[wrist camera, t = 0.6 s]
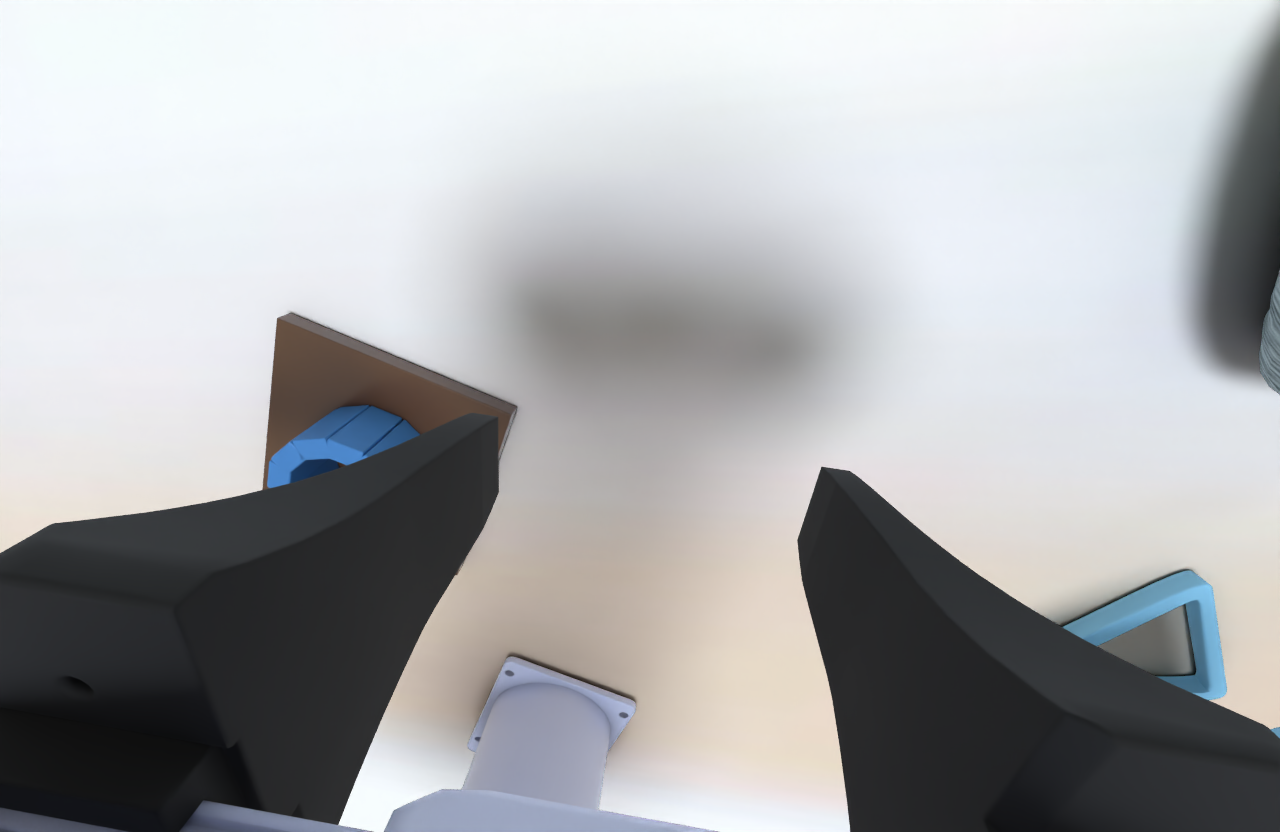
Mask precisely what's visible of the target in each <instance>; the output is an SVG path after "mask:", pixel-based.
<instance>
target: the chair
mask: <svg viewBox="0 0 1280 832" xmlns="http://www.w3.org/2000/svg"><path fill="white" fill-rule="evenodd" d="M1184 604H1185V605H1186V611H1187V617H1188V623H1189V628H1190V634H1191V640H1192V646H1193V652H1194V658H1195V664H1196V670H1197V671H1196V674H1195V675H1191V676H1156V677H1158V678H1160V679H1162V680H1164V681H1166V682H1169V683H1171V684H1173V685H1175V686H1177V687H1180V688H1182V689H1184V690H1186V691H1189V692H1191V693H1193V694H1195V695H1198V696H1200V697H1202V698H1204V699H1207V700H1212V699H1217V698H1221V697H1223V696H1224V695H1225V694H1226V692H1227V686H1226V679H1225V672H1224V665H1223V658H1222V651H1221V644H1220V637H1219V630H1218V623H1217V616H1216V608H1215V601H1214V594H1213V588H1212V586H1211V585H1210V584H1208V583H1207V582H1206V581H1204V580H1203V579H1202V578H1201V577H1199V576H1198V575H1197V574H1195V573H1194V572H1192V571H1190V570H1189V571H1183V572H1180V573H1177V574H1174V575H1172V576H1169V577H1167V578H1164V579H1162V580H1160V581H1157V582H1155V583H1153V584H1151V585H1149V586H1147V587H1145V588H1142V589H1140V590H1138V591H1136V592H1134V593H1132V594H1130V595H1128V596H1126V597H1123V598H1121V599H1119V600H1117V601H1115V602H1113V603H1111V604H1109V605H1107V606H1105V607H1103V608H1101V609H1099V610H1097V611H1095V612H1092V613H1090V614H1088V615H1086V616H1084V617H1082V618H1080V619H1078V620H1076V621H1074V622H1072V623H1070V624H1067V625H1065V626H1063V628H1064V629H1066V630H1068V631H1070V632H1071V633H1073V634H1075V635H1077V636H1078V637H1080V638H1082V639H1084V640H1086V641H1088V642H1090V643H1091V644H1093V645H1095V646H1099V645H1101V644H1103V643H1105V642H1107V641H1109V640H1111V639H1113V638H1115V637H1117V636H1119V635H1121V634H1123V633H1125V632H1127V631H1129V630H1131V629H1133V628H1136V627H1138V626H1140V625H1142V624H1144V623H1146V622H1148V621H1150V620H1152V619H1154V618H1156V617H1158V616H1160V615H1162V614H1165V613H1167V612H1169V611H1171V610H1173V609H1175V608H1177V607H1179V606H1181V605H1184ZM1270 730H1271V731H1272V732H1274V733H1275V734H1276V735H1277V736H1278V737H1279V738H1280V727H1278V728H1274V729H1270Z"/></svg>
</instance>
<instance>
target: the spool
mask: <svg viewBox="0 0 1280 832" xmlns="http://www.w3.org/2000/svg"><path fill="white" fill-rule="evenodd" d="M1259 361H1260V372H1261V374H1262V376H1263V377H1264V379H1265V381H1266V382H1267V384H1268V386H1269V387H1270V388H1272V389H1273V390H1274V391H1276V392H1277V393H1278V394H1280V270H1279V274H1278V277H1277V280H1276V284H1275V287H1274V290H1273V292H1272V295H1271V301H1270V309H1269V310H1268V312H1267V314H1266V316H1265V318H1264V321H1263V326H1262V342H1261V347H1260V351H1259Z"/></svg>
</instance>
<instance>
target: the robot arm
mask: <svg viewBox="0 0 1280 832" xmlns="http://www.w3.org/2000/svg"><path fill="white" fill-rule="evenodd" d="M498 493H499V460H498V417H497V416H491V415H484V414H478V413H469V414H466V415H463V416H461V417H458V418H456V419H454V420H452V421H449V422H447V423H445V424H443V425H441V426H438V427H436V428H434V429H432V430H430V431H428V432H425V433H423V434H421V435H419V436H417V437H414V438H412V439H410V440H408V441H406V442H403V443H401V444H399V445H397V446H394V447H392V448H389V449H387V450H384V451H382V452H379V453H377V454H374V455H372V456H370V457H367V458H365V459H362V460H360V461H357V462H355V463H352V464H349V465H347V466H344V467H341V468H338V469H335V470H332V471H329V472H326V473H323V474H320V475H316V476H313V477H310V478H307V479H304V480H300V481H297V482H293V483H289V484H285V485H281V486H277V487H273V488H269V489H265V490H261V491H257V492H253V493H249V494H245V495H241V496H236V497H232V498H227V499H222V500H217V501H212V502H207V503H201V504H196V505H190V506H184V507H178V508H172V509H167V510H160V511H153V512H147V513H139V514H131V515H123V516H114V517H106V518H98V519H90V520H81V521H73V522H62V523H54V524H51V525H49V526H47V527H45V528H43V529H42V530H40V531H38V532H37V533H35V534H33V535H32V536H30V537H28V538H26V539H25V540H23V541H21V542H19V543H18V544H16V545H14V546H12V547H11V548H9V549H7V550H5V551H3V552H2V553H0V832H372V831H367V830H361V829H356V828H351V827H345V826H340V825H338V824H339V821H340V819H341V816H342V814H343V811H344V809H345V806H346V804H347V801H348V799H349V796H350V793H351V791H352V788H353V786H354V783H355V781H356V778H357V776H358V774H359V771H360V769H361V766H362V764H363V762H364V759H365V757H366V755H367V752H368V750H369V747H370V745H371V743H372V740H373V738H374V736H375V733H376V731H377V729H378V726H379V724H380V721H381V719H382V717H383V715H384V712H385V710H386V708H387V706H388V703H389V701H390V699H391V697H392V695H393V692H394V690H395V688H396V686H397V683H398V681H399V679H400V677H401V675H402V672H403V670H404V668H405V666H406V664H407V662H408V660H409V658H410V655H411V653H412V651H413V649H414V647H415V645H416V643H417V641H418V639H419V637H420V634H421V632H422V630H423V628H424V626H425V625H426V623H427V621H428V619H429V617H430V616H431V614H432V612H433V610H434V608H435V607H436V605H437V604H438V602H439V600H440V599H441V597H442V595H443V594H444V592H445V591H446V589H447V587H448V586H449V584H450V582H451V581H452V579H453V577H454V576H455V574H456V573H457V571H458V569H459V568H460V566H461V564H462V563H463V561H464V560H465V558H466V556H467V555H468V553H469V551H470V550H471V548H472V546H473V545H474V543H475V541H476V540H477V538H478V536H479V535H480V533H481V531H482V530H483V528H484V525H485V523H486V521H487V519H488V516H489V514H490V512H491V509H492V507H493V505H494V502H495V500H496V497H497V495H498ZM798 550H799V560H800V568H801V576H802V582H803V586H804V590H805V594H806V598H807V602H808V606H809V609H810V613H811V617H812V621H813V624H814V628H815V632H816V636H817V639H818V643H819V647H820V650H821V654H822V658H823V662H824V665H825V669H826V673H827V677H828V681H829V686H830V690H831V695H832V700H833V706H834V713H835V719H836V725H837V732H838V738H839V744H840V751H841V759H842V766H843V774H844V781H845V789H846V796H847V804H848V813H849V822H850V832H1280V738H1279V737H1278V736H1277V735H1276V734H1275V733H1274V732H1272V731H1271V730H1270V729H1269V728H1268V727H1266V726H1265V725H1263V724H1260V723H1258V722H1256V721H1254V720H1251V719H1249V718H1247V717H1245V716H1242V715H1240V714H1238V713H1236V712H1234V711H1231V710H1229V709H1227V708H1225V707H1222V706H1220V705H1218V704H1216V703H1213V702H1211V701H1209V700H1207V699H1204V698H1202V697H1200V696H1198V695H1195V694H1193V693H1191V692H1189V691H1186V690H1184V689H1182V688H1180V687H1177V686H1175V685H1173V684H1171V683H1169V682H1166V681H1164V680H1162V679H1160V678H1158V677H1156V676H1154V675H1152V674H1150V673H1148V672H1146V671H1144V670H1142V669H1140V668H1138V667H1136V666H1134V665H1132V664H1130V663H1128V662H1126V661H1124V660H1122V659H1120V658H1118V657H1116V656H1114V655H1112V654H1110V653H1108V652H1106V651H1104V650H1103V649H1101V648H1099V647H1097V646H1095V645H1093V644H1091V643H1090V642H1088V641H1086V640H1084V639H1082V638H1080V637H1078V636H1077V635H1075V634H1073V633H1071V632H1070V631H1068V630H1066V629H1064V628H1063V627H1061V626H1059V625H1057V624H1056V623H1054V622H1052V621H1051V620H1049V619H1047V618H1045V617H1044V616H1042V615H1040V614H1039V613H1037V612H1035V611H1033V610H1032V609H1030V608H1029V607H1027V606H1025V605H1024V604H1022V603H1021V602H1019V601H1017V600H1016V599H1014V598H1013V597H1011V596H1010V595H1008V594H1007V593H1005V592H1004V591H1002V590H1001V589H999V588H998V587H996V586H995V585H993V584H992V583H990V582H989V581H987V580H986V579H984V578H983V577H981V576H980V575H978V574H977V573H975V572H974V571H973V570H971V569H970V568H968V567H967V566H966V565H964V564H963V563H962V562H960V561H959V560H958V559H956V558H955V557H954V556H952V555H951V554H950V553H949V552H947V551H946V550H945V549H943V548H942V547H941V546H939V545H938V544H937V543H936V542H934V541H933V540H932V539H931V538H929V537H928V536H927V535H926V534H924V533H923V532H922V531H921V530H920V529H918V528H917V527H916V526H915V525H914V524H912V523H911V522H910V521H909V520H908V519H907V518H905V517H904V516H903V515H902V514H901V513H900V512H898V511H897V510H896V509H895V508H894V507H893V506H892V505H890V504H889V503H888V502H887V501H886V500H885V499H884V498H882V497H881V496H880V495H879V494H878V493H877V492H875V491H874V490H873V489H872V488H871V487H870V486H868V485H867V484H866V483H865V482H864V481H862V480H861V479H860V478H859V477H857V476H856V475H855V474H853V473H852V472H850V471H846V470H839V469H833V468H826V467H821V470H820V473H819V476H818V479H817V482H816V485H815V488H814V492H813V495H812V498H811V501H810V504H809V507H808V510H807V513H806V516H805V519H804V522H803V525H802V528H801V531H800V534H799V537H798ZM635 711H636V703H635V702H634V701H633V700H631V699H628V698H625V697H623V696H620V695H617V694H614V693H612V692H609V691H606V690H604V689H601V688H598V687H595V686H593V685H590V684H587V683H585V682H582V681H579V680H577V679H574V678H571V677H568V676H566V675H563V674H560V673H558V672H555V671H552V670H549V669H547V668H544V667H541V666H539V665H536V664H533V663H530V662H528V661H525V660H522V659H520V658H517V657H508V658H507V659H506V660H505V662H504V664H503V667H502V669H501V671H500V673H499V675H498V678H497V680H496V682H495V684H494V686H493V689H492V691H491V693H490V695H489V697H488V700H487V702H486V704H485V706H484V709H483V711H482V713H481V715H480V717H479V720H478V722H477V724H476V726H475V728H474V731H473V733H472V735H471V737H470V739H469V742H468V745H467V746H468V748H469V749H470V750H471V751H473V752H475V755H474V758H473V760H472V763H471V766H470V768H469V771H468V774H467V776H466V779H465V782H464V784H463V787H462V790H452V789H441V790H439V791H437V792H434V793H432V794H429V795H427V796H425V797H422V798H420V799H417V800H415V801H412V802H410V803H408V804H406V805H404V806H402V807H400V808H398V809H396V810H394V811H393V813H392V815H391V818H390V820H389V822H388V824H387V826H386V828H385V830H384V832H718V831H712V830H707V829H701V828H695V827H690V826H684V825H679V824H673V823H668V822H662V821H657V820H651V819H646V818H640V817H635V816H629V815H624V814H618V813H613V812H607V811H601V810H599V804H600V797H601V791H602V784H603V778H604V771H605V765H606V758H607V752H608V751H609V749H610V748H611V747H612V745H613V744H614V742H615V741H616V739H617V738H618V736H619V735H620V733H621V732H622V731H623V729H624V728H625V726H626V725H627V723H628V722H629V720H630V719H631V717H632V716H633V715H634V713H635Z"/></svg>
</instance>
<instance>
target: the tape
mask: <svg viewBox="0 0 1280 832" xmlns="http://www.w3.org/2000/svg"><path fill="white" fill-rule="evenodd" d="M419 435H420V434H419V433H418V432H417V431H416V430H415V429H414V428H413V427H412V426H411V425H410V424H409V423H408V422H407V421H406V420H403V421H402V418H401V417H399V416H396V415H394V414H391V413H389V412H386V411H384V410H381V409H379V408H376V407H374V406H371V407H369V405H362V406H349V407H340V408H338V409H335V410H334V411H332V412H331V413H329V414H328V415H327V416H325V417H324V418H322V419H321V420H319V421H318V422H317V423H315V424H314V425H312V426H311V427H309V428H308V429H307V430H305V431H304V432H302V433H301V434H299V435H298V436H297V437H295V438H294V439H292V440H291V441H290V442H288V443H287V444H286V445H285V446H284V447H283V448H281V449H280V450H279V451H278V452H277V453H276V454H275V455H273V456H272V458H271V460H270V462H269V470H268V481H267V487H269V488H273V487H277V486H281V485H285V484H289V483H293V482H297V481H300V480H304V479H307V478H310V477H313V476H316V475H320V474H323V473H326V472H329V471H332V470H335V469H338V468H339V466H338V463H337V462H339V463H342V464H344V465H349V464H352V463H355V462H357V461H360V460H362V459H365V458H367V457H370V456H372V455H374V454H377V453H379V452H382V451H384V450H387V449H389V448H392V447H394V446H397V445H399V444H401V443H403V442H406V441H408V440H410V439H412V438H414V437H417V436H419Z"/></svg>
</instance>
